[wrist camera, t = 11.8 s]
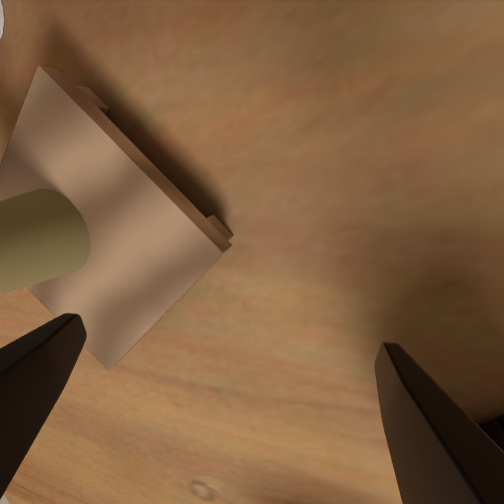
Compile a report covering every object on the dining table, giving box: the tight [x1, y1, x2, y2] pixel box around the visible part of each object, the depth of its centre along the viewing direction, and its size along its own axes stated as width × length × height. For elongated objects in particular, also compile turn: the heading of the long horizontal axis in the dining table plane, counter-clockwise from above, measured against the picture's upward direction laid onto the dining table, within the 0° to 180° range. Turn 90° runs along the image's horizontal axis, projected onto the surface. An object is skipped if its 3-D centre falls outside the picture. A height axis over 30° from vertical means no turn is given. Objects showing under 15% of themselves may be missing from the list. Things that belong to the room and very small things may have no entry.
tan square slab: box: [0, 65, 233, 371], centre depth 23 cm, size 15×15×4 cm
